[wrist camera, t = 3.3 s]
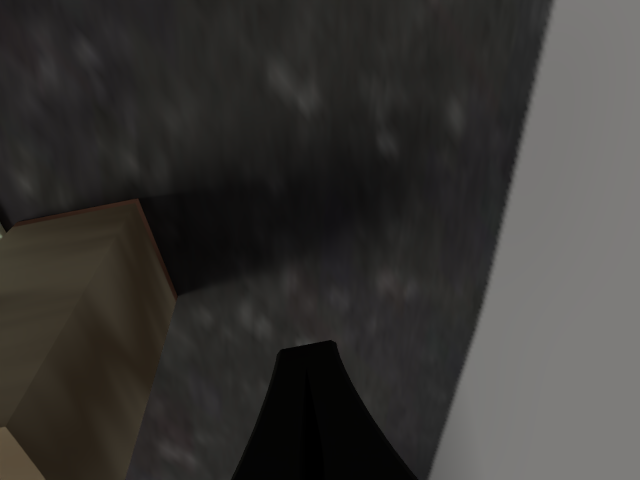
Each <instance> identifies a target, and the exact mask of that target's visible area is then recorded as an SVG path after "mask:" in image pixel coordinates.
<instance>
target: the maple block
mask: <svg viewBox="0 0 640 480" xmlns="http://www.w3.org/2000/svg"><path fill="white" fill-rule="evenodd" d="M177 297H178V296H177V294H176V291H175V289H174V286H173V284H172V281H171V279H170V276H169V274H168V271H167V269H166V266H165V264H164V261H163V259H162V256H161V254H160V252H159V249H158V247H157V244H156V242H155V239H154V237H153V234H152V232H151V229H150V227H149V224H148V222H147V219H146V217H145V214H144V212H143V210H142V207H141V205H140V202H139V200H138V198H137V199H132V200H127V201H122V202H117V203H112V204H107V205H102V206H97V207H92V208H87V209H82V210H77V211H71V212H66V213H61V214H56V215H51V216H46V217H41V218H36V219H31V220H26V221H21V222H17V223H16V224H15V225H14V226H13V227H12V228H11V229H10V230H9V231H8V232H7V233H6V234H5V235H4V236H3V237H2V238H1V239H0V480H125V478H126V474H127V471H128V467H129V464H130V460H131V457H132V453H133V450H134V446H135V443H136V439H137V436H138V432H139V429H140V425H141V422H142V419H143V415H144V412H145V408H146V405H147V401H148V398H149V394H150V391H151V387H152V384H153V380H154V377H155V373H156V370H157V366H158V363H159V359H160V356H161V352H162V349H163V345H164V342H165V339H166V335H167V332H168V328H169V325H170V321H171V318H172V314H173V311H174V307H175V304H176V300H177Z"/></svg>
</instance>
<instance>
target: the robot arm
mask: <svg viewBox="0 0 640 480" xmlns="http://www.w3.org/2000/svg"><path fill="white" fill-rule="evenodd" d="M231 480H418V479H417V477H416V476H415V475H414V474H413V473H412V471H411V470H410V469H409V468H408V466H407V465H406V464H405V463H404V461H403V460H402V459H401V458H400V456H399V455H398V454H397V452H396V451H395V450H394V448H393V447H392V445H391V444H390V443H389V441H388V440H387V439H386V437H385V436H384V434H383V433H382V431H381V430H380V428H379V427H378V425H377V424H376V422H375V421H374V419H373V418H372V416H371V415H370V413H369V412H368V410H367V408H366V407H365V405H364V403H363V402H362V400H361V398H360V396H359V395H358V393H357V391H356V390H355V388H354V386H353V384H352V382H351V380H350V378H349V376H348V374H347V372H346V370H345V368H344V365H343V363H342V361H341V358H340V355H339V352H338V349H337V344H336V343H335V342H334V341H332V340H329V341H323V342H318V343H313V344H308V345H302V346H297V347H292V348H287V349H282V350H280V351H279V353H278V354H277V358H276V363H275V367H274V371H273V374H272V378H271V381H270V385H269V388H268V391H267V394H266V397H265V400H264V403H263V405H262V408H261V411H260V414H259V416H258V419H257V422H256V424H255V427H254V429H253V432H252V434H251V437H250V439H249V441H248V444H247V446H246V448H245V450H244V453H243V455H242V457H241V460H240V462H239V464H238V466H237V468H236V470H235V472H234V474H233V477H232V479H231Z"/></svg>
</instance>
